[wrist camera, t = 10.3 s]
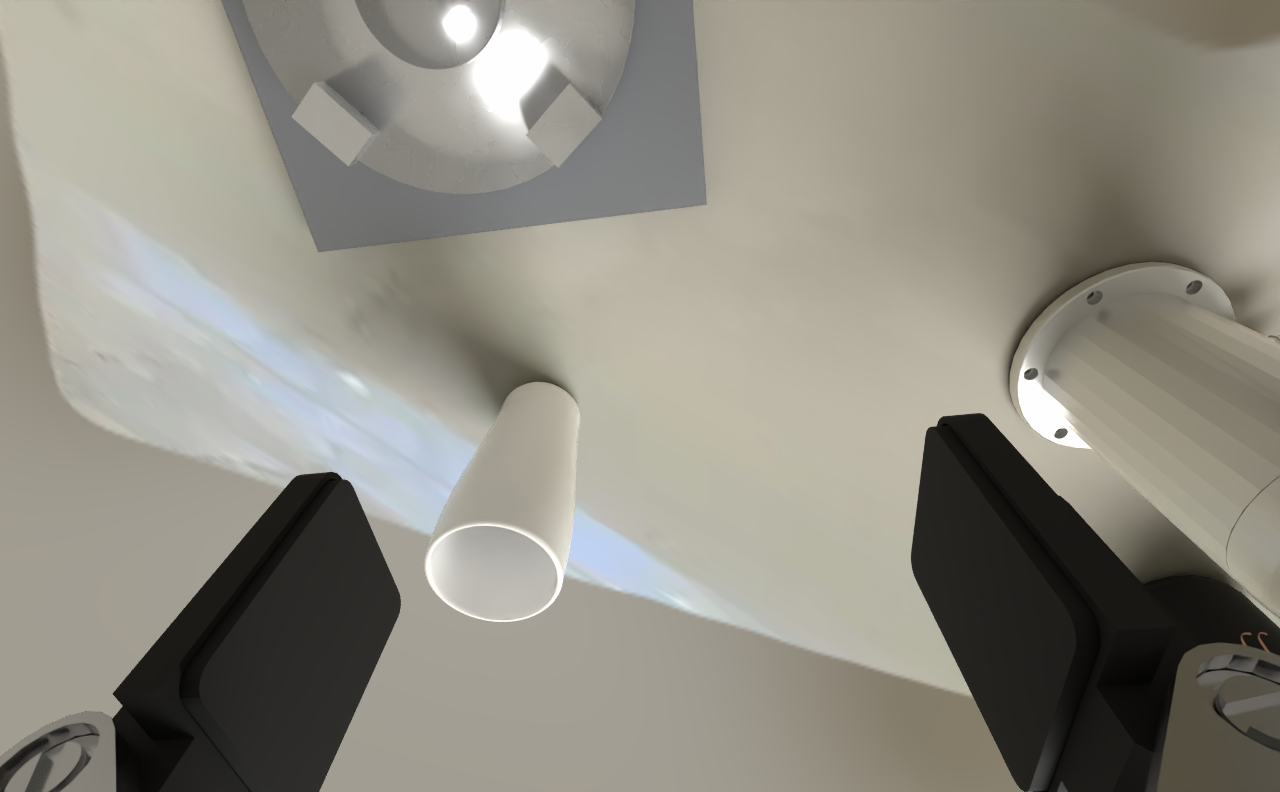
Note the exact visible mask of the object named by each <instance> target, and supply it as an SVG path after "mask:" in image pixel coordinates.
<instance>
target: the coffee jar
mask: <svg viewBox="0 0 1280 792" xmlns="http://www.w3.org/2000/svg"><path fill="white" fill-rule="evenodd" d="M1143 586H1144V587H1145V588H1146V589H1147V590H1148V591H1149V592H1150V593H1151V594H1152V595H1153V597H1154V598H1155V599H1156V600H1157V601H1158V602H1159V603H1160V604H1161V605H1162V606H1163V608H1164V609H1165V610H1166V611H1167V612H1168V613H1169V614H1170V615H1171V616H1172V617H1173V619H1174V620H1175V621H1176V622H1177V623H1178V624H1179V625H1180V626H1181V627H1182V628H1183V630H1184V631H1185V632H1186V633H1187V634H1188V635H1189V636H1190V637H1191V638H1192V639H1193V641H1194V642H1195V643H1196V644H1197V645H1204V644H1212V643H1219V642H1220V643H1230V644H1239V645H1246V646H1250V647H1253V648H1257V649H1260V650H1264V651H1267V652H1271V653H1274V654H1276V655H1279V656H1280V628H1279V627H1278V626H1277V625H1276V624H1275V623H1274V622H1272V621H1271V620H1270V619H1269V618H1268V617H1267V616H1266V615H1265V614H1264V613H1263V612H1262V611H1261V610H1260V609H1258V608H1257V607H1256V606H1255V605H1254V604H1253V603H1252V602H1251V601H1250V600H1249V599H1248V598H1247V597H1246V596H1244V595H1243V594H1242V593H1241V592H1239V591H1238V590H1236V589H1234V588H1232V587H1230V586H1229V585H1227V584H1224V583H1222V582H1219V581H1213V580H1210V579H1208V578H1203V577H1197V576H1191V575H1189V576H1174V577H1168V578H1164V579H1160V580H1156V581H1153V582H1150V583H1148V584H1145V585H1143Z"/></svg>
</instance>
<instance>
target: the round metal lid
mask: <svg viewBox="0 0 1280 792" xmlns="http://www.w3.org/2000/svg"><path fill="white" fill-rule="evenodd" d="M242 1H243V4H244V7H245V11H246V14H247V17H248V20H249V22H250V24H251V27H252V29H253V31H254V34H255V36H256V38H257V40H258V43H259V45H260V47H261V49H262V51H263V53H264V55H265V56H266V58H267V60H268V62H269V64H270V66H271V67H272V69H273V71H274V73H275V74H276V76H277V77H278V79H279V80H280V82H281V83H282V85H283V86H284V88H285V89H286V90H287V92H288V93H289V95H290V96H291V98H292V99H293V100H294V101H295V103H296V104H297V105H298V108H297V109H296V111H295V112H294V114H293V115H292V118H293V119H294V120H295V121H296V122H298V123H299V124H300V125H301V126H302V127H303V128H305V129H306V130H307V131H308V132H309V133H310V134H311V135H313V136H314V137H315V138H316V139H317V140H318V141H320V142H321V143H322V144H323V145H324V146H325V147H326V148H328V149H329V150H330V151H331V152H332V153H333V154H335V155H336V156H337V157H338V158H339V159H340V160H341V161H343V162H344V163H345V164H346V165H347V166H348V167H349V166H351V165H354V164H356V163H358V161H360V162H362V163H363V164H365V165H366V166H368V167H370V168H371V169H373V170H375V171H377V172H379V173H381V174H383V175H385V176H387V177H389V178H392V179H394V180H396V181H399V182H402V183H405V184H408V185H411V186H414V187H417V188H421V189H425V190H430V191H435V192H440V193H452V194H476V193H487V192H492V191H497V190H502V189H507V188H510V187H512V186H515V185H518V184H521V183H524V182H526V181H529V180H530V179H532V178H534V177H536V176H538V175H540V174H542V173H544V172H546V171H547V170H549V169H550V168H551V167H553V166H554V165H556V166H557V167H558V168H559V167H560V165H561V164H562V163H563V162H564V161H565V160H566V159H567V158H568V156H569V155H570V154H571V153H572V152H573V151H574V150H575V149H576V148H577V146H578V145H579V144H580V143H581V142H582V141H583V140H584V139H585V137H586V136H587V135H588V134H589V133H590V132H591V131H592V130H593V129H594V127H595V126H596V125H597V124H598V123H599V122H600V121H601V120H602V118H603V117H604V116H603V115H602V114H603V112H604V111H605V109H606V107H607V106H608V104H609V102H610V100H611V99H612V97H613V95H614V93H615V90H616V88H617V86H618V83H619V81H620V79H621V76H622V74H623V71H624V67H625V64H626V61H627V57H628V54H629V50H630V45H631V40H632V34H633V28H634V21H635V3H636V0H242Z"/></svg>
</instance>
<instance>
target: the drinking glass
mask: <svg viewBox="0 0 1280 792" xmlns="http://www.w3.org/2000/svg"><path fill="white" fill-rule="evenodd" d="M579 428H580V412H579V408H578V406H577V404H576V402H575V400H574V399H573V398H572V396H571V395H570V394H569V393H568V392H566V391H565V390H564V389H562V388H560V387H558V386H556V385H554V384H551V383H547V382H530V383H526V384H523V385H521V386H519V387H517V388H516V389H514V390H513V391H512V392H511V393H510V394H509V395H508V396H507V398H506V399H505V401H504V403H503V405H502V408H501V410H500V412H499V414H498V416H497V418H496V419H495V421H494V423H493V424H492V426H491V428H490V429H489V431H488V433H487V434H486V436H485V438H484V439H483V441H482V442H481V444H480V446H479V447H478V449H477V451H476V452H475V454H474V455H473V457H472V459H471V460H470V462H469V463H468V465H467V467H466V468H465V470H464V472H463V473H462V475H461V476H460V478H459V480H458V481H457V483H456V485H455V487H454V488H453V490H452V492H451V494H450V496H449V498H448V500H447V502H446V504H445V506H444V508H443V510H442V512H441V515H440V517H439V519H438V522H437V524H436V527H435V529H434V532H433V534H432V537H431V540H430V543H429V545H428V548H427V550H426V553H425V557H424V569H425V574H426V578H427V580H428V582H429V584H430V586H431V587H432V589H433V590H434V592H435V593H436V594H437V595H438V596H439V597H440V598H441V599H442V600H443V601H444V602H445V603H447V604H448V605H449V606H451V607H452V608H454V609H456V610H457V611H459V612H461V613H463V614H466V615H468V616H471V617H474V618H478V619H482V620H487V621H496V622H508V621H517V620H522V619H526V618H529V617H532V616H534V615H536V614H538V613H540V612H542V611H543V610H544V609H546V608H547V607H548V606H550V605H551V604H552V603H553V602H554V600H555V599H556V598H557V596H558V594H559V592H560V590H561V587H562V583H563V578H564V574H565V570H566V566H567V562H568V557H569V552H570V547H571V540H572V533H573V525H574V511H575V487H576V463H577V444H578V433H579Z"/></svg>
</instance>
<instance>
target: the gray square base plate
mask: <svg viewBox="0 0 1280 792" xmlns="http://www.w3.org/2000/svg"><path fill="white" fill-rule="evenodd" d="M222 3H223V6H224V8H225V11H226V13H227V16H228V19H229V21H230V24H231V26H232V29H233V32H234V34H235V37H236V39H237V42H238V45H239V47H240V50H241V52H242V55H243V58H244V60H245V63H246V65H247V68H248V71H249V73H250V76H251V78H252V81H253V84H254V86H255V89H256V91H257V94H258V97H259V99H260V102H261V104H262V107H263V109H264V112H265V115H266V117H267V120H268V122H269V125H270V128H271V130H272V133H273V135H274V138H275V141H276V143H277V146H278V148H279V151H280V154H281V156H282V159H283V161H284V164H285V167H286V169H287V172H288V174H289V177H290V180H291V182H292V185H293V187H294V190H295V193H296V195H297V198H298V200H299V203H300V206H301V208H302V211H303V213H304V216H305V219H306V221H307V224H308V226H309V229H310V232H311V234H312V237H313V239H314V242H315V245H316V247H317V250H318V252H323V251H331V250H339V249H347V248H356V247H364V246H372V245H380V244H388V243H397V242H405V241H413V240H421V239H429V238H438V237H446V236H454V235H462V234H470V233H479V232H487V231H495V230H503V229H511V228H520V227H528V226H536V225H544V224H552V223H561V222H569V221H577V220H585V219H593V218H602V217H610V216H618V215H626V214H634V213H643V212H651V211H659V210H667V209H675V208H684V207H692V206H700V205H707V202H706V188H705V173H704V159H703V145H702V130H701V116H700V102H699V88H698V73H697V59H696V45H695V30H694V16H693V2H692V0H636V3H635V21H634V28H633V34H632V40H631V45H630V50H629V54H628V57H627V61H626V64H625V67H624V71H623V74H622V76H621V79H620V81H619V83H618V86H617V88H616V90H615V93H614V95H613V97H612V99H611V100H610V102H609V104H608V106H607V107H606V109H605V111H604V112H603V114H602V115H603V116H604V117H603V118H602V120H601V121H600V122H599V123H598V124H597V125H596V126H595V127H594V129H593V130H592V131H591V132H590V133H589V134H588V135H587V136H586V137H585V139H584V140H583V141H582V142H581V143H580V144H579V145H578V146H577V148H576V149H575V150H574V151H573V152H572V153H571V154H570V155H569V156H568V158H567V159H566V160H565V161H564V162H563V163H562V164H561V165H560V167H559V168H558V167H557V166H556V165H554V166H553V167H551V168H550V169H549V170H547V171H546V172H544V173H542V174H540V175H538V176H536V177H534V178H532V179H530V180H529V181H526V182H524V183H521V184H518V185H515V186H512V187H510V188H507V189H502V190H497V191H492V192H487V193H476V194H452V193H440V192H435V191H430V190H425V189H421V188H417V187H414V186H411V185H408V184H405V183H402V182H399V181H396V180H394V179H392V178H389V177H387V176H385V175H383V174H381V173H379V172H377V171H375V170H373V169H371V168H370V167H368V166H366V165H365V164H363V163H362V162H360V161H358V163H356V164H354V165H351V166H349V167H348V166H347V165H346V164H345V163H344V162H343V161H341V160H340V159H339V158H338V157H337V156H336V155H335V154H333V153H332V152H331V151H330V150H329V149H328V148H326V147H325V146H324V145H323V144H322V143H321V142H320V141H318V140H317V139H316V138H315V137H314V136H313V135H311V134H310V133H309V132H308V131H307V130H306V129H305V128H303V127H302V126H301V125H300V124H299V123H298V122H296V121H295V120H294V119H293V118H292V115H293V114H294V112H295V111H296V109H297V108H298V105H297V104H296V103H295V101H294V100H293V99H292V98H291V96H290V95H289V93H288V92H287V90H286V89H285V88H284V86H283V85H282V83H281V82H280V80H279V79H278V77H277V76H276V74H275V73H274V71H273V69H272V67H271V66H270V64H269V62H268V60H267V58H266V56H265V55H264V53H263V51H262V49H261V47H260V45H259V43H258V40H257V38H256V36H255V34H254V31H253V29H252V27H251V24H250V22H249V20H248V17H247V14H246V11H245V7H244V4H243V1H242V0H222Z"/></svg>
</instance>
